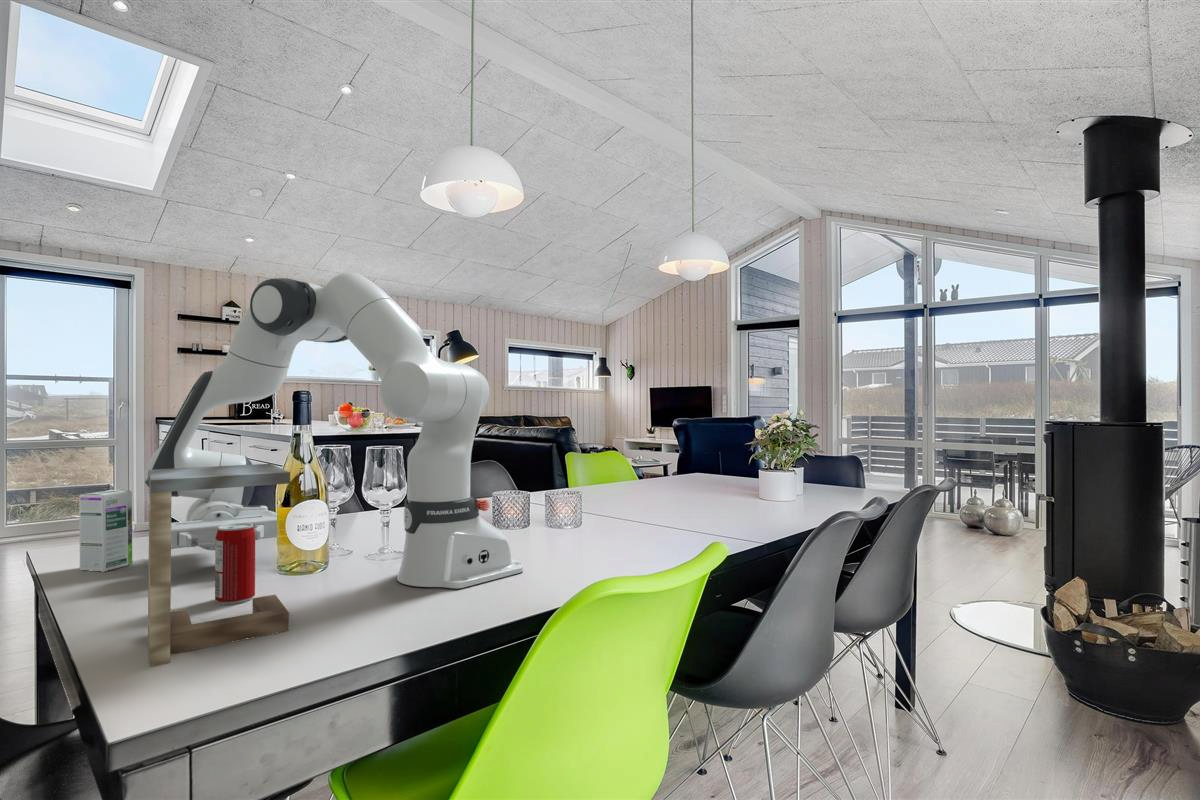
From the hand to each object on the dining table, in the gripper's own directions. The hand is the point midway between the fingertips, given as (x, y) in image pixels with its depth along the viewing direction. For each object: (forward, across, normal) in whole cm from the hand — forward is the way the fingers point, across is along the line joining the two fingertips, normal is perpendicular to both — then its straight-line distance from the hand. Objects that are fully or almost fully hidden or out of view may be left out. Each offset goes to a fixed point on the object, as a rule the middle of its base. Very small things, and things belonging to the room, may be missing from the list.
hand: (225, 538), depth 108 cm
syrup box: (-25, -17, +8) cm, 31 cm away
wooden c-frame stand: (+28, -4, +7) cm, 29 cm away
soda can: (+12, 0, +8) cm, 15 cm away
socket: (+27, -3, +7) cm, 28 cm away
